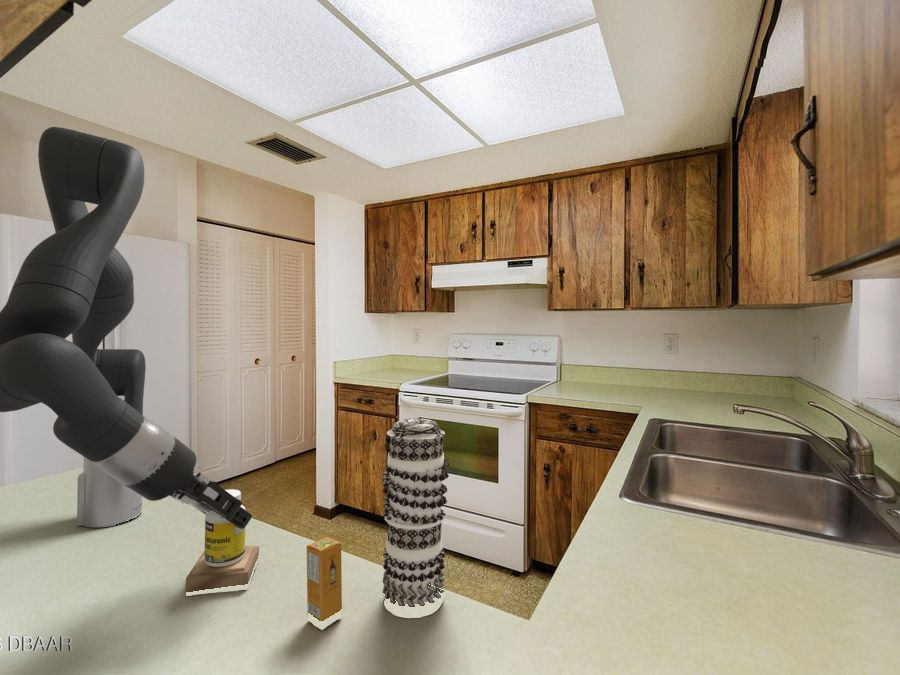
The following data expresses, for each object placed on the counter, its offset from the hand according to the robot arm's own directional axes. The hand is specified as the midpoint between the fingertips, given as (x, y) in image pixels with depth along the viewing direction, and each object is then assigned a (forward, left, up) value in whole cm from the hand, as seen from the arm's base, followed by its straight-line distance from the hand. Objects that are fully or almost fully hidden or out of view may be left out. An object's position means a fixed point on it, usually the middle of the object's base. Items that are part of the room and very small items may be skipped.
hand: (229, 515), depth 66 cm
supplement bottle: (0, -1, -6) cm, 6 cm away
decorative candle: (+27, -11, -9) cm, 30 cm away
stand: (0, 0, -9) cm, 9 cm away
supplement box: (+15, -13, -9) cm, 22 cm away
